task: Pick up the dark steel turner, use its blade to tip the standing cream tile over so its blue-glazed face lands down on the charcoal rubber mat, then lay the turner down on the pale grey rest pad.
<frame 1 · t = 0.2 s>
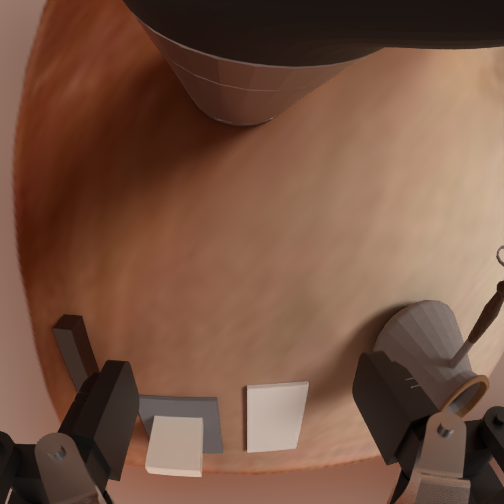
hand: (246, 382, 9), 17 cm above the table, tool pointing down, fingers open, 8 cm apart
turner: (87, 358, 29), on the table
tile: (179, 420, 32), point 1 cm above the table, touching mat
mat: (181, 426, 33), on the table
coffee pot: (405, 297, 29), on the table
rest pad: (274, 420, 34), on the table
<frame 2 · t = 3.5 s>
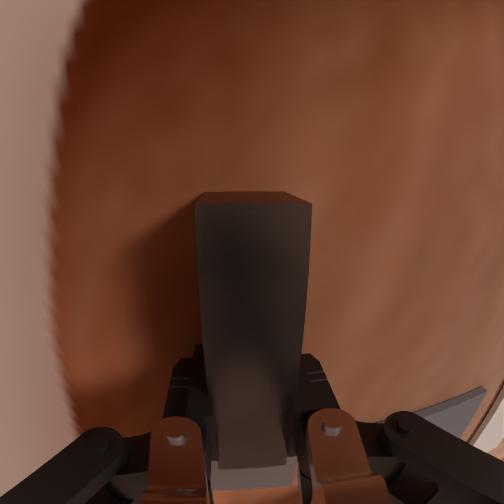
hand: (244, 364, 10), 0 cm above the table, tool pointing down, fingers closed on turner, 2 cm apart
turner: (245, 359, 11), on the table, touching gripper
mat: (395, 464, 14), on the table
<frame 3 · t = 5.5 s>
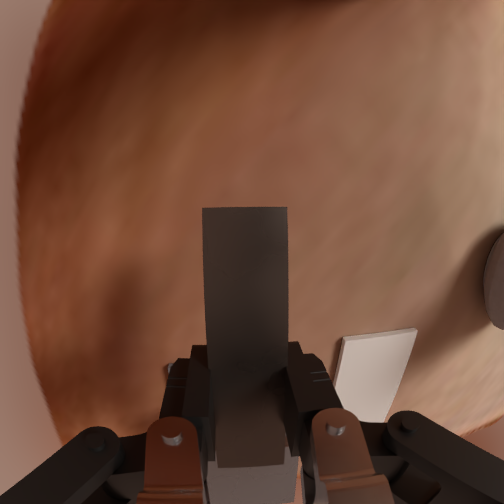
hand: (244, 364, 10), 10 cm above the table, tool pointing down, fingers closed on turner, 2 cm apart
turner: (244, 366, 12), point 9 cm above the table, tilted 16°, touching gripper
rest pad: (363, 393, 24), on the table
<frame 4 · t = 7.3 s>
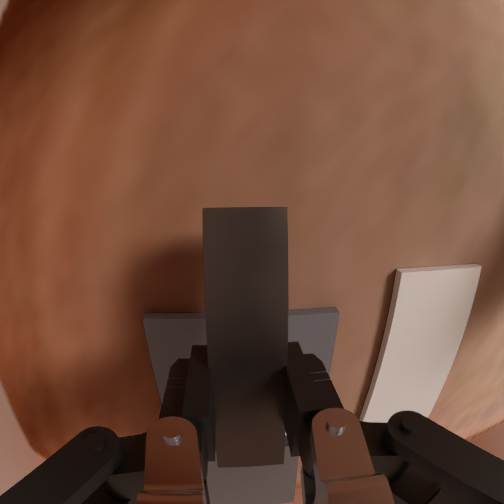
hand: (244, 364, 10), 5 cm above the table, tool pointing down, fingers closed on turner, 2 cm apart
turner: (244, 366, 12), point 4 cm above the table, tilted 15°, touching gripper
mat: (243, 396, 17), on the table
rest pad: (416, 361, 17), on the table
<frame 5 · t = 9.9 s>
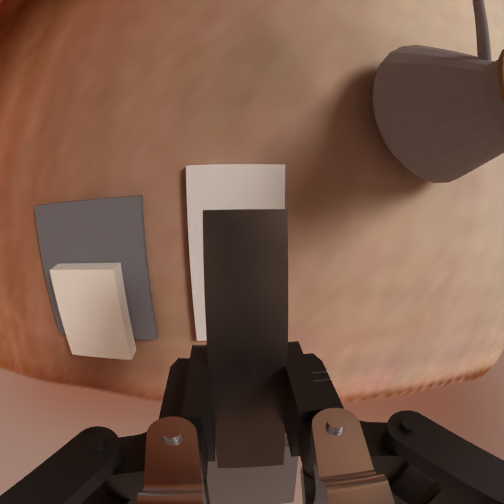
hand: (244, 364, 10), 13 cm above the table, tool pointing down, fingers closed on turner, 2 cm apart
turner: (244, 367, 12), point 12 cm above the table, tilted 15°, touching gripper
tile: (83, 266, 20), point 2 cm above the table, tilted 90°, touching mat
mat: (93, 272, 22), on the table
coffee pot: (399, 63, 19), on the table
rest pad: (236, 257, 23), on the table
when the fingers open (3 cm above the table, at t = 12.0 s): turner drops 1 cm, resting on rest pad.
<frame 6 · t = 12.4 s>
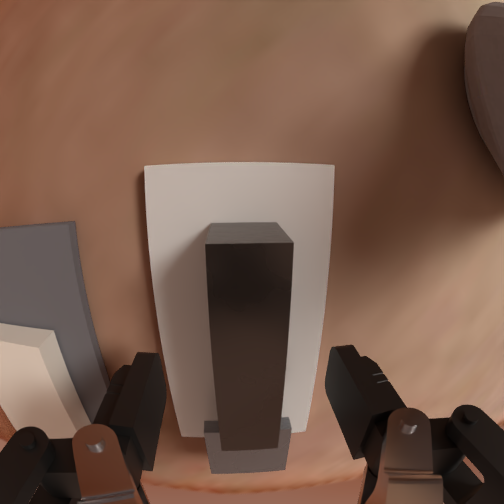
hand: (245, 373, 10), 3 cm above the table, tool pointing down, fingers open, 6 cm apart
turner: (244, 358, 13), point 1 cm above the table, touching rest pad
tile: (4, 332, 10), point 2 cm above the table, tilted 90°, touching mat
mat: (25, 335, 12), on the table
coffee pot: (478, 29, 9), on the table
rest pad: (241, 328, 13), on the table
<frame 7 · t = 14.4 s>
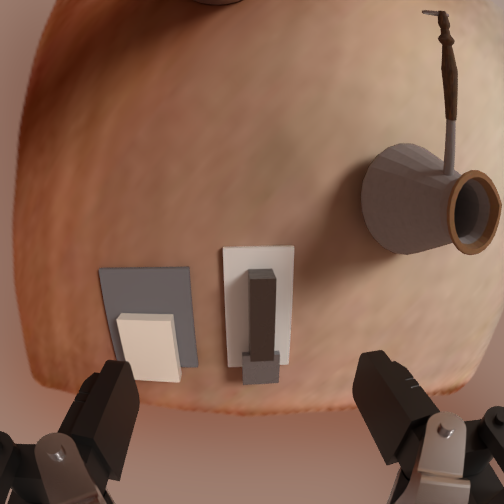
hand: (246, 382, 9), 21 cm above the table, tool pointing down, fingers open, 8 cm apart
turner: (259, 322, 31), point 1 cm above the table, touching rest pad
tile: (144, 316, 29), point 2 cm above the table, tilted 90°, touching mat
mat: (149, 319, 31), on the table
coffee pot: (387, 152, 28), on the table
rest pad: (258, 310, 32), on the table
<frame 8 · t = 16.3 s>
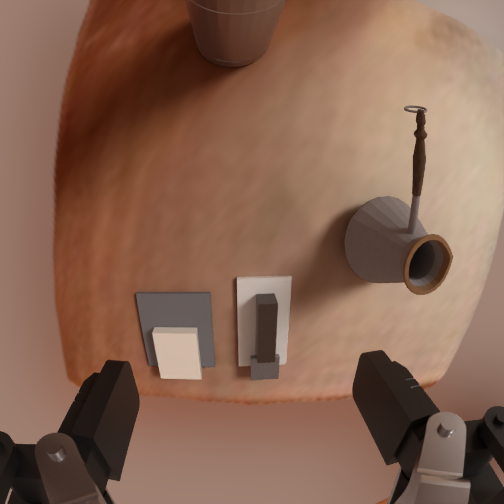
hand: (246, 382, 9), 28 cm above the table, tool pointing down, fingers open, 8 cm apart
turner: (264, 332, 40), point 1 cm above the table, touching rest pad
tile: (174, 330, 38), point 2 cm above the table, tilted 90°, touching mat
mat: (177, 331, 40), on the table
coffee pot: (369, 200, 37), on the table
rest pad: (263, 323, 41), on the table
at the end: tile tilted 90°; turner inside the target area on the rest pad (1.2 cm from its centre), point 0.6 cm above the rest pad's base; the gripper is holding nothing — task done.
